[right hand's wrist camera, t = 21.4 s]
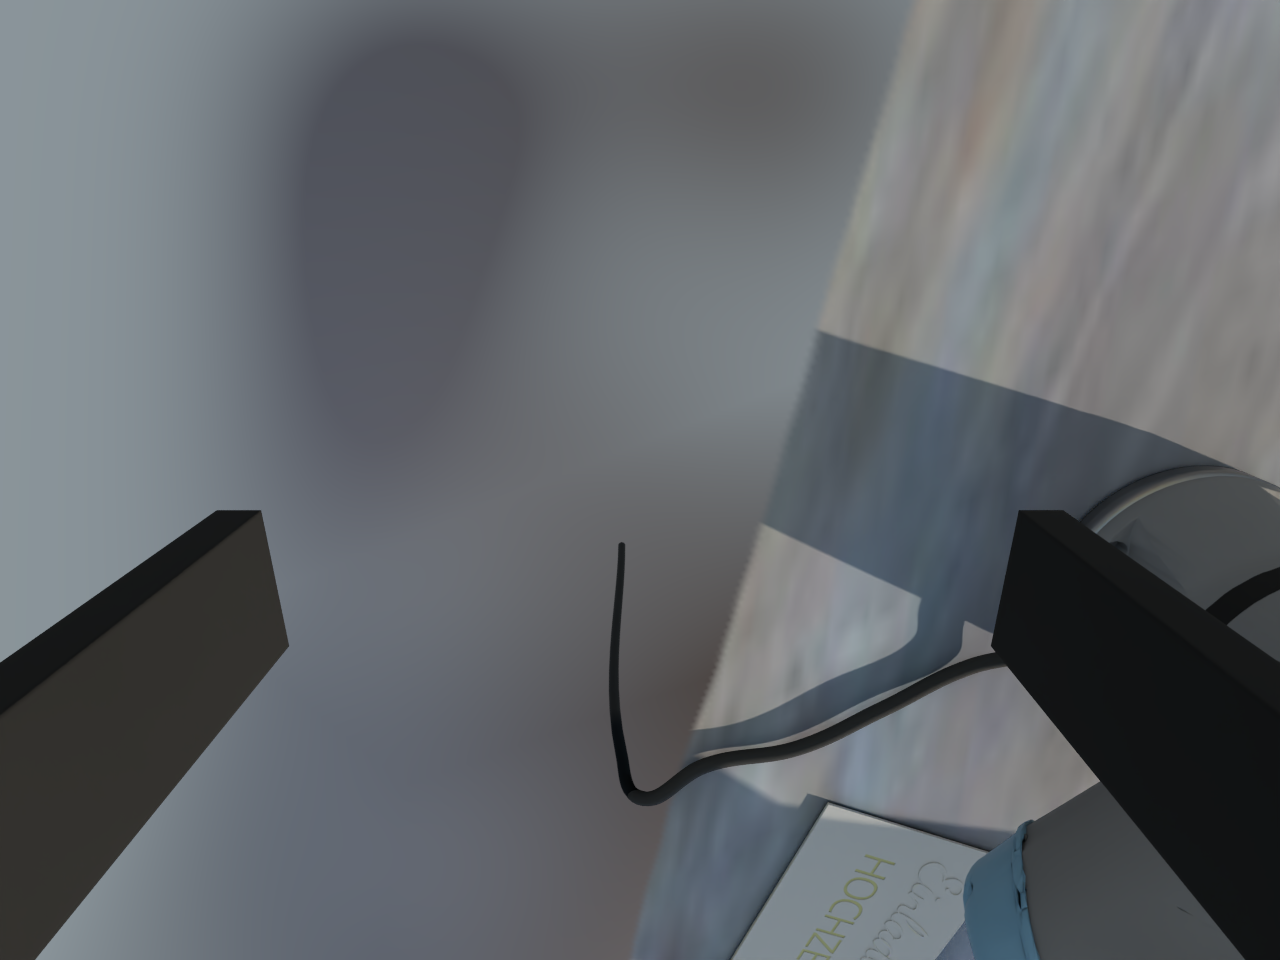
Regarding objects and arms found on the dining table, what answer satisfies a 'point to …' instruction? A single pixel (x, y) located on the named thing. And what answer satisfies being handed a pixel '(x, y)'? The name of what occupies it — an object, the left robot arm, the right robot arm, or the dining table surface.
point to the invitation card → (863, 894)
